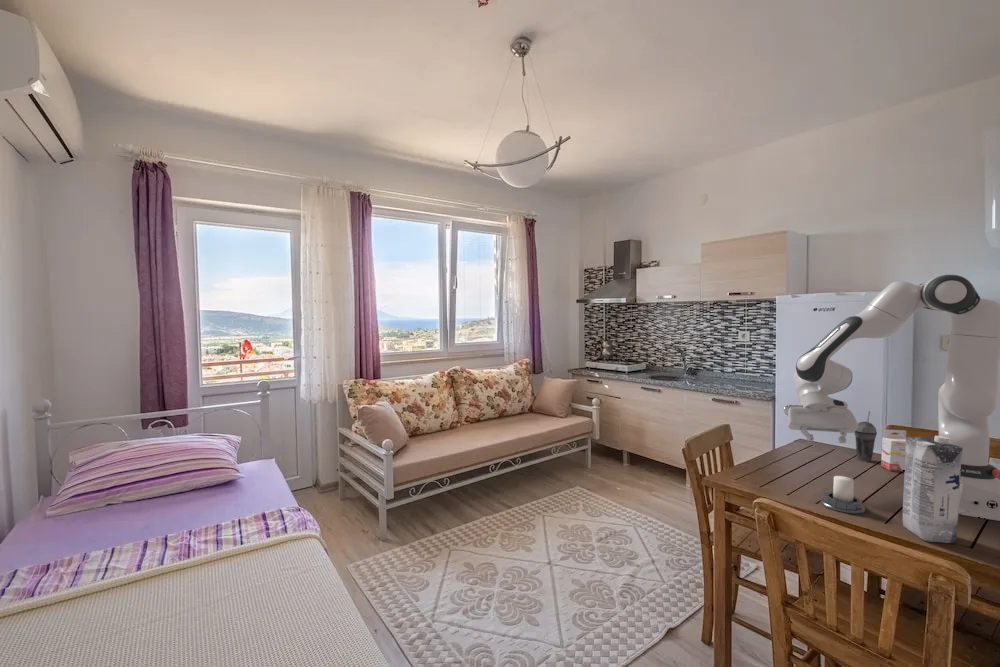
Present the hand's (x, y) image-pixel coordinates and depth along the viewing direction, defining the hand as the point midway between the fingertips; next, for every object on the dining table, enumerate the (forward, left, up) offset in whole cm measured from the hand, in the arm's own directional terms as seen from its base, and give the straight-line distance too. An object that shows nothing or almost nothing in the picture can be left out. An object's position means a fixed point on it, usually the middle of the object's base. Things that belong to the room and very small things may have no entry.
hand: (826, 441), depth 152 cm
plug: (-5, +11, -16) cm, 20 cm away
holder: (-5, +11, -17) cm, 21 cm away
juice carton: (-24, +19, -17) cm, 35 cm away
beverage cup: (-9, -49, -17) cm, 53 cm away
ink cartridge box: (-19, -43, -17) cm, 50 cm away
